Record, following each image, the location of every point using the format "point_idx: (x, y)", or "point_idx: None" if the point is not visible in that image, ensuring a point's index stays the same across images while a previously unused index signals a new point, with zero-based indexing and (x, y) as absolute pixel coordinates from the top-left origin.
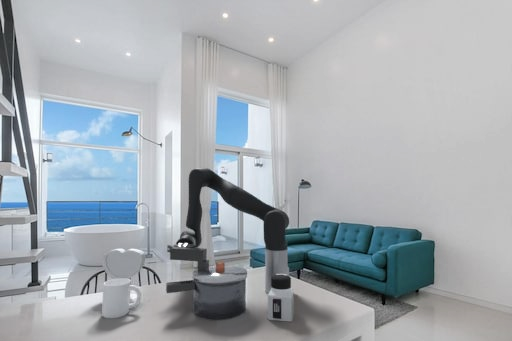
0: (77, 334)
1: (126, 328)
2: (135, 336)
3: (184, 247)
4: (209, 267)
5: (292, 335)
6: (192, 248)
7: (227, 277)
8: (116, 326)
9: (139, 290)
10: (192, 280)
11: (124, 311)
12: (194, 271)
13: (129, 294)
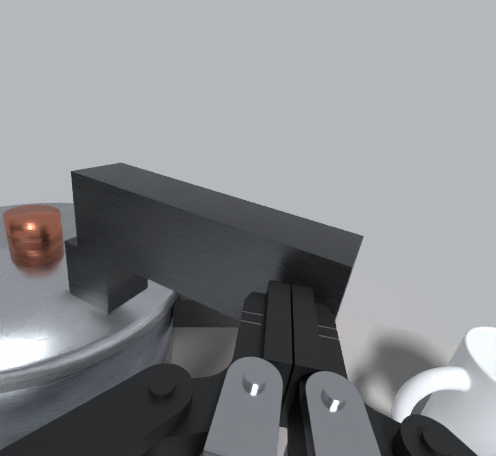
0: (451, 346)
1: (353, 342)
2: None
3: (235, 362)
4: (27, 331)
5: None
6: (174, 195)
7: (71, 210)
8: (386, 358)
9: (410, 379)
10: (180, 296)
11: (421, 413)
12: (165, 288)
13: (447, 397)
